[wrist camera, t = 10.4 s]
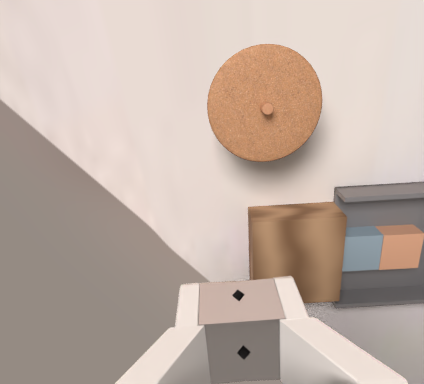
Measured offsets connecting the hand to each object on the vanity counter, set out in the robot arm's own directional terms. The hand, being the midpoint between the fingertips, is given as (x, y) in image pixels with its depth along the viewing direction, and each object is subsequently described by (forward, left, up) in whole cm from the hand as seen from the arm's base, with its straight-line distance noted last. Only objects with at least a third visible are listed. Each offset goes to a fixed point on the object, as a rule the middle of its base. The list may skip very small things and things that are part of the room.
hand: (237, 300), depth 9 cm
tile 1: (-23, +18, -29) cm, 41 cm away
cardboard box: (-9, +18, -32) cm, 38 cm away
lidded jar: (-5, -2, -32) cm, 33 cm away
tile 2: (-17, +18, -32) cm, 40 cm away
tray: (-22, +18, -32) cm, 43 cm away
